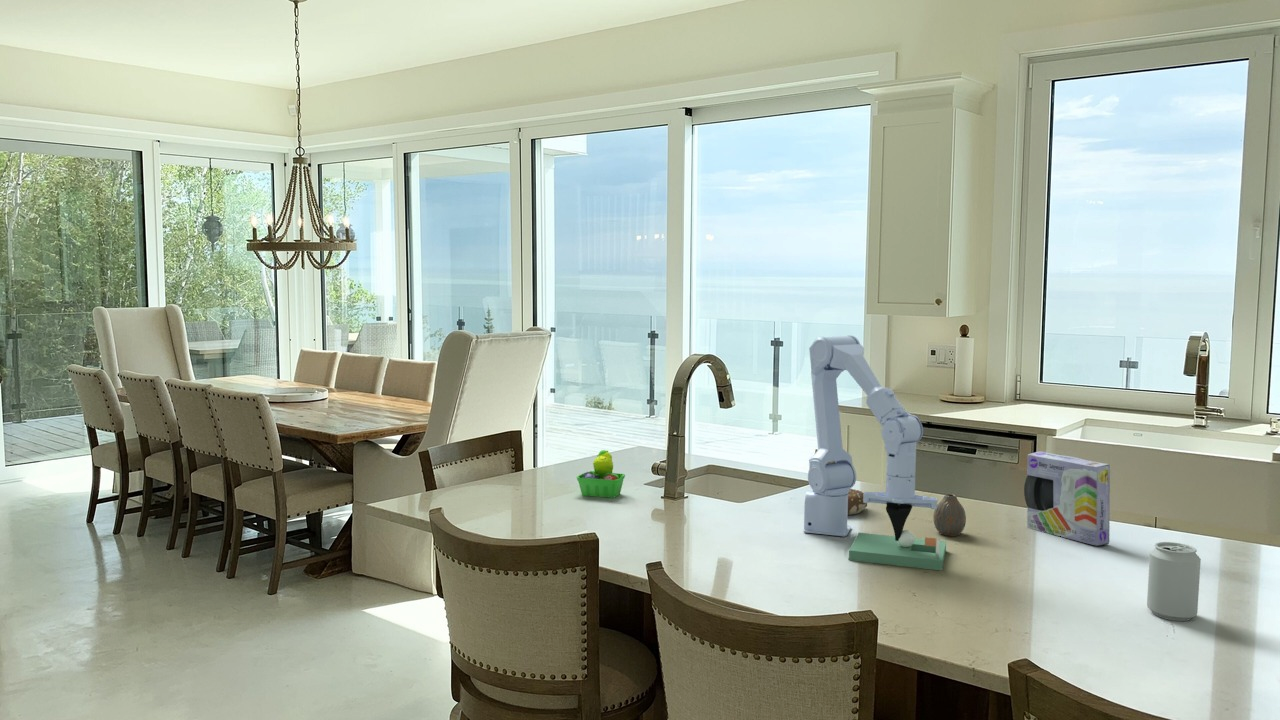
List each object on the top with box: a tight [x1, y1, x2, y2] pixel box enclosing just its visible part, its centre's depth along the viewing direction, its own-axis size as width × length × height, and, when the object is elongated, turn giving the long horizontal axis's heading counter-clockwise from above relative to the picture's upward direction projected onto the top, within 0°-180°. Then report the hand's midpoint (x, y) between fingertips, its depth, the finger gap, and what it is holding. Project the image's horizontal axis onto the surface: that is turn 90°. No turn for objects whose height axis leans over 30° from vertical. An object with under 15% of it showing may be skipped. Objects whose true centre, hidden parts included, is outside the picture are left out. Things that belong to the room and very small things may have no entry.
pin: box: [924, 536, 941, 559], centre depth 183 cm, size 3×1×6 cm, turn 69°
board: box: [848, 532, 947, 571], centre depth 191 cm, size 18×14×2 cm
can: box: [1146, 541, 1202, 622], centre depth 158 cm, size 8×8×12 cm
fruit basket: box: [576, 449, 626, 499], centre depth 243 cm, size 11×9×11 cm
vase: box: [932, 493, 967, 537], centre depth 207 cm, size 7×7×9 cm
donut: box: [848, 488, 868, 516], centre depth 228 cm, size 14×14×5 cm
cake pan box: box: [1023, 451, 1111, 547], centre depth 205 cm, size 19×5×18 cm, turn 27°
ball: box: [897, 529, 915, 547], centre depth 190 cm, size 4×4×4 cm
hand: (898, 539), depth 190 cm, fingers closed, pressing on ball
